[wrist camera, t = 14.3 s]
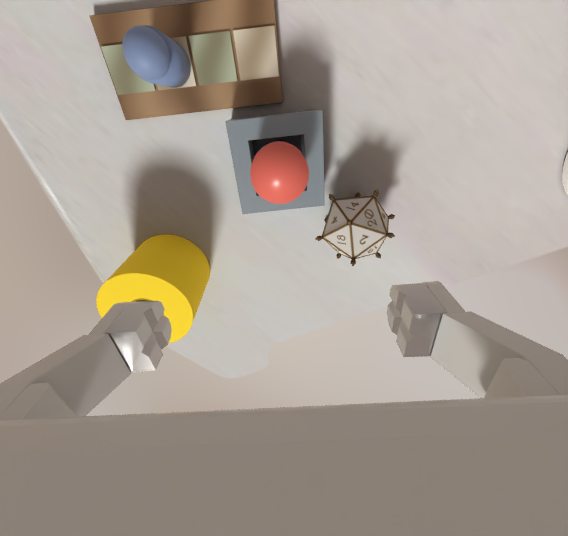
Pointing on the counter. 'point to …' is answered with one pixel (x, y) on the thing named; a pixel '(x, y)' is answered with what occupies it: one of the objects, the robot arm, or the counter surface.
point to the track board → (199, 56)
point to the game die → (356, 226)
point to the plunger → (279, 172)
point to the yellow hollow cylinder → (161, 280)
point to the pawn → (156, 57)
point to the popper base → (271, 127)
